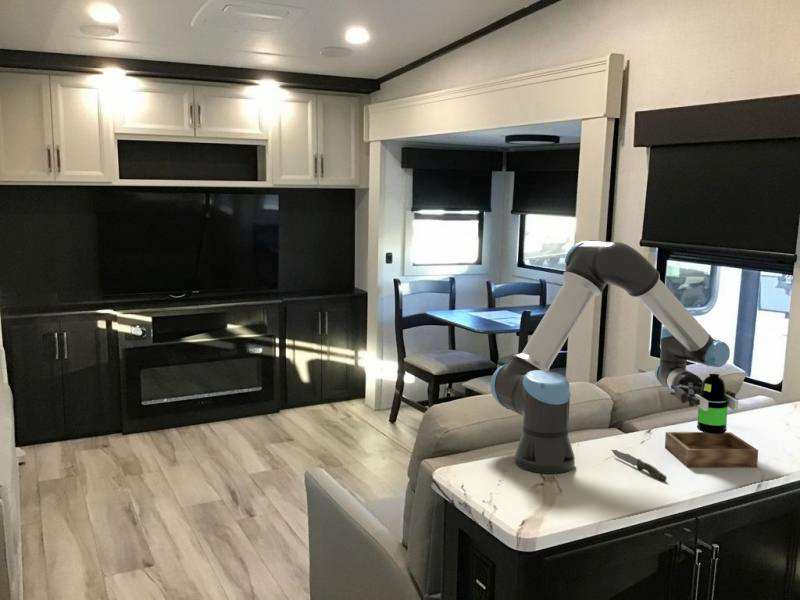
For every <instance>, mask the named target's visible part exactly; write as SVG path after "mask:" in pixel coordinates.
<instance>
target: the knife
mask: <svg viewBox="0 0 800 600" xmlns="http://www.w3.org/2000/svg"><path fill="white" fill-rule="evenodd" d="M610 451H611V452H612V453H613V454H614V456H615V457H617V458H618V459H620V460H622V461H623V462H626V463H627V464H628V463H629V464H630V465H632V466H636V468H637V470H638V471H643V470H644V471H646V472H647V473H648V474H649V475H650V476H651V477H653V478H655V479H657V481H660V482H666V481H667V476H666V475H665V474H664V473H662V471H660V470H659V469H657V468H656V467H655V466H654V465H652V464H650V463H648V462H645V461H643V459H641V458H637V457H635V456H633V455H631V454H629V453H624V452H621V451H619V450H617V449H611V450H610Z"/></svg>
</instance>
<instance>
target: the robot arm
mask: <svg viewBox="0 0 800 600" xmlns="http://www.w3.org/2000/svg"><path fill="white" fill-rule="evenodd" d="M564 263H565V265H564V268H565V269H564V272H563V274H562V276H563V279H564V283H563V285H562V286H561V287H560V289H559V291H558V292H557V294H556V295H555V298H554V299H553V300H552V302H551V304H550V305H549V307H548V309H547V311H546V312H545V314H544V316H543V317H542V319H541V320H540V322H539V324H538V325H537V327H536V329H534V332H533V333H532V335H531V336H530V339H529V341H528V342H527V344H526V345H525V347H524V349H523V350H522V352H521V353H517V354H513V356H512V357H511V359H510V360H509V362H508V363H507V364H503V365H500V366H499V367H498V368H496V370H495V371H494V373H493V375H492V376H491V379H490V390H491V395H492V397H493V399H494V400H495V401H496V403H498V404H499V405H501V406H502V407H503V408H504V409H507V410H510V411H512V412H515V413H516V414H519V415H520V416H522V434H521V436H520V439H519V442H518V445H517V447H516V450H515V454H514V455H515V456H514V457H515V458H514V459H515V460H514V463H515V464H516V465H517V466H518V467H519V468H522V469H523V470H525V471H529V472H532V473H540V474H561V473H566V472H569V471H571V470H573V469H574V468H575V465H576V464H575V454H574V451H573V447H572V444H571V440H570V437H569V430H570V429H569V427H570V403H571V388H570V386H571V385H570V382H569V380H568V378H567V377H565V376H564V375H562V374H561V373H558V372H555V371H550V367H551V366H552V365H553V362H554V361H555V359H556V358H557V356H558V354H559V353H560V351H561V350H562V348H563V347H564V345H565V343H566V341H567V339H568V337H569V336H570V335H571V333H572V331H573V329H574V327H575V326H576V324H577V322H578V321H579V319H580V317H581V316H582V314H583V312H584V311H585V310H586V308H587V306H588V304H589V302H590V301H591V300H592V298H593V297H598V296H600V295H601V294H602V292H603V290H604V289H605V287H606V286H607V285H611V286H612V285H613V286H616V287H619V288H620V289H622V290H624V291H625V292H626V293H627V294H628V295H629V296H631V297H632V298H637V299H638V300H639V301H640V302H641V303H642V304H643V305H644V306H645V307H646V308H647V309H648V310H649V311H650V312H651V313H652V315H653V316H654V317H655V318H656V319H657V320H658V321H659V322H660V323H661V324H662V328H661V334H660V355H659V356H660V357H659V363H658V364H657V366H656V368H655V370H654V377H655V379H656V380H657V382H659V383H660V385H662V386H663V387H664V388H667V389H668V390H669V391H670V395H672V396H675V398H676V399H677V400H678V401H679V402H681V403H682V404H686V403H687V402H688V406H689V407H695V406H697V407H700V408H701V409H703V410H704V411H708V400H706V399H705V398H703V397H701V396H700V395H699V394H700V392H701V387H702V384H703V380H702V379H701V377H699V375H696V374H695V373H693V372H691V371H689V370H688V369H687V361H689V362H692V363H697V364H699V365H704V366H706V367H713V368H721V367H724V366H725V365H726V363H727V362H728V360H729V358H730V355H731V349H730V346H729V345H728V344H727V343H726V342H725V341H721V340H719V339H715V338H713V336H712V335H710V334H709V333H708V331H707V330H706V329H705V328H704V327H703V326H702V325H701V323H700V322H699V321H698V320H697V319H696V318H695V317H694V316H693V314H692V313H691V312H690V311H689V310H688V309H687V308H686V307H685V305H684V304H683V303H681V301H680V300H679V299H678V298H677V297H676V295H674V293H673V292H672V291H671V290H670V289H669V288H668V287H667V286H666V284H664V282H663V281H662V280H661V277H660V276H661V275H660V272H659V270H657V269H656V267H655V266H654V265H653V264H652V263H651V262H650V261H649V260H648V259H647V258H646V257H644V256H643V255H642V254H641V253H640V252H639V251H638V250H636V249H635V248H634V247H632V246H630V245H628V244H626V243H624V242H620V241H599V240H594V239H593V240H591V239H589V240H583V241H580V242H577V243H575V244H574V245H573V246H572V247H570V249H569V250H568V251H567V253H566V255H565V259H564ZM726 395H727V402H728V404H727V408H730V409H731V410H733V411H735V412H738V411H739V400H738V399H737V398H736V393H735V392H732V391H731V390H728V389H726ZM694 405H695V406H694Z"/></svg>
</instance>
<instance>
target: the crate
mask: <svg viewBox="0 0 800 600" xmlns="http://www.w3.org/2000/svg"><path fill="white" fill-rule="evenodd" d="M664 438H665V439H664V440H665V441H664V449H666V450H667V452H668V453H670V454H671V455H672V456H673V457H675V458H676V459H677V461H679V462H681V463H682V465H684V466H685V467H686V468H758V462H759V461H758V459H759V450H758V449H757V448H756V447H755V446H753V445H751V444H750V443H748V442H747V441H745V440H743V439H741V438H740V437H738V436H737V435H736V434H735V433H732V432H729V431H728V432H727V431H726V432H725V433H722V434H711V433H706V432H702V431H693V432H692V431H665V437H664Z"/></svg>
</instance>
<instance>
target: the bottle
mask: <svg viewBox="0 0 800 600" xmlns="http://www.w3.org/2000/svg"><path fill="white" fill-rule="evenodd" d="M702 382H703V384H702V387H701V392H700V394H699V395H700V396H701V397H703V398H705V399H706V400H708V411H704V410H703V409H701V408H700V407H698V406H697V407H698V408H697V423H696V424H697V425H696V428H697V430H698V431H699V432H706V433H711V434H722V433H725V432H727V421H728V407H727V404H728V402H727V395H726V390H727V389H726V384H725V381H724V379H722V378H721V377H720V374H718V373H708V376H706V377H705V378H704V380H702Z"/></svg>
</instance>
